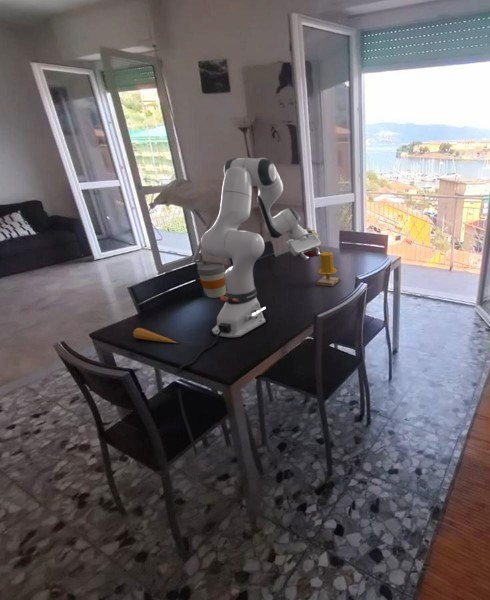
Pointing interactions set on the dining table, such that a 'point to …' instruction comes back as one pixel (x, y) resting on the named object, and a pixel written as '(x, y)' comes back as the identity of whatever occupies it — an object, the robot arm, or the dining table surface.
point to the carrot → (150, 336)
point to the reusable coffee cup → (213, 279)
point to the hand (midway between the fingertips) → (313, 257)
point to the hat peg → (328, 281)
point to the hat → (327, 264)
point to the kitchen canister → (312, 252)
